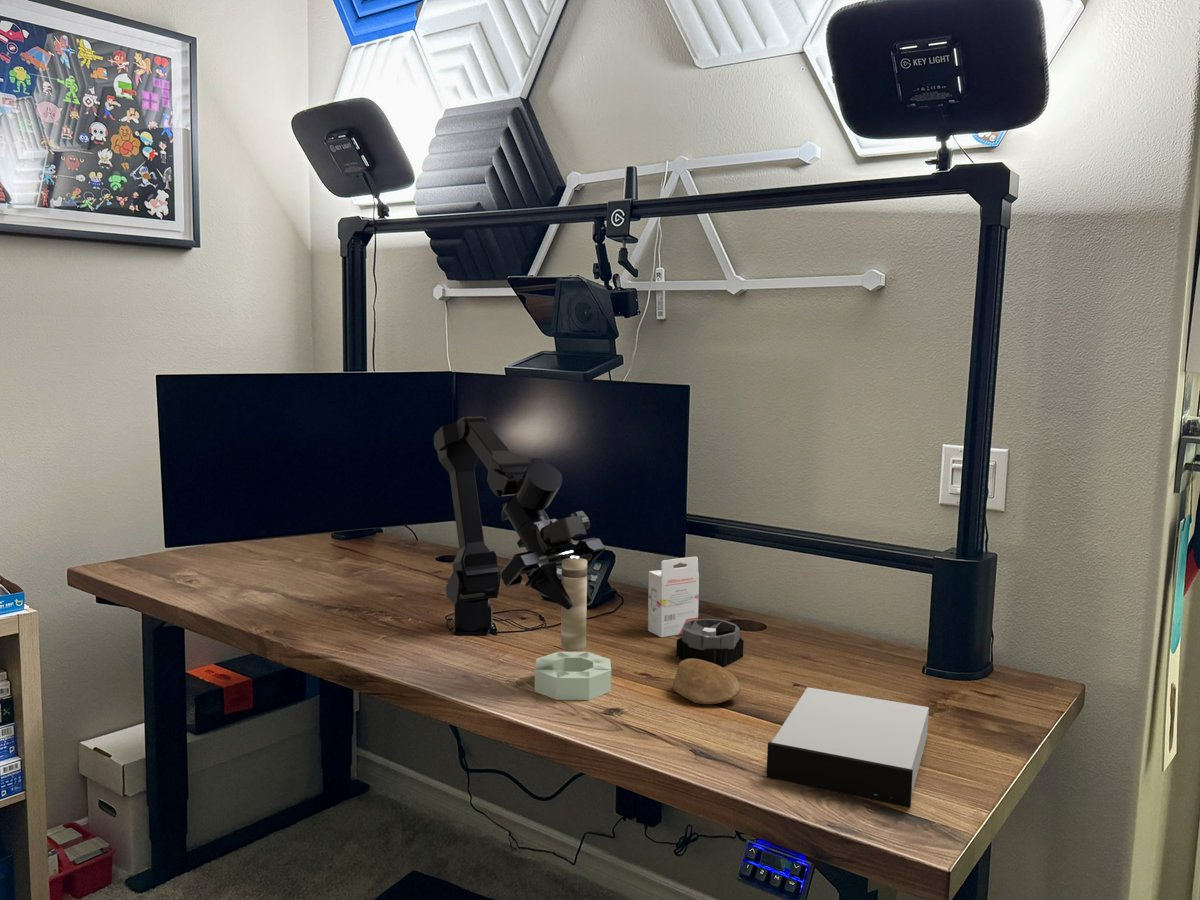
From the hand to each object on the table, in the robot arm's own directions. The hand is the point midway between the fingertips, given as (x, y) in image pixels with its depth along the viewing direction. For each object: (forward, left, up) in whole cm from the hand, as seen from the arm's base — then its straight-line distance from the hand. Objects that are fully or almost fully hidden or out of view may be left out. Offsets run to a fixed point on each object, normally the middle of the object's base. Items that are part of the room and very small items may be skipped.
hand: (580, 605), depth 147 cm
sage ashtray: (-1, +1, -13) cm, 14 cm away
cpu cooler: (+23, +15, -14) cm, 31 cm away
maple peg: (-1, +1, -7) cm, 7 cm away
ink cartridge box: (+18, +29, -14) cm, 37 cm away
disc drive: (+37, -24, -14) cm, 46 cm away
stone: (+20, -4, -14) cm, 24 cm away
